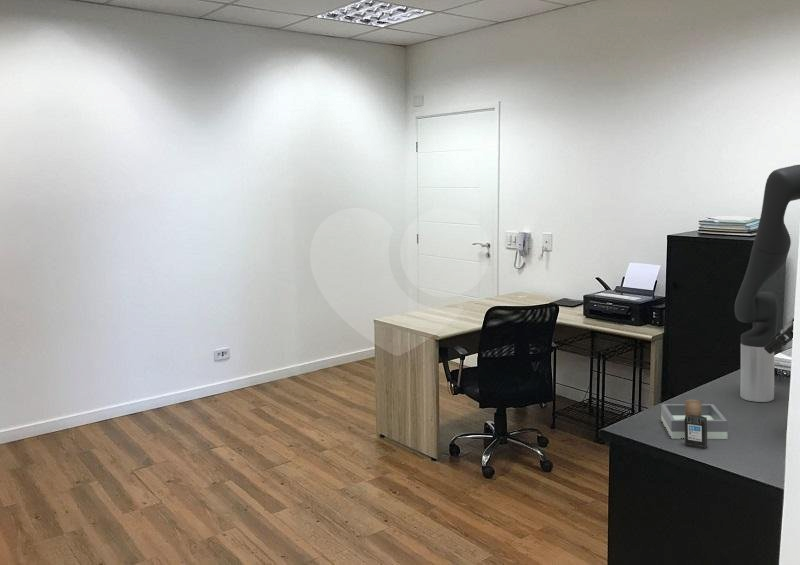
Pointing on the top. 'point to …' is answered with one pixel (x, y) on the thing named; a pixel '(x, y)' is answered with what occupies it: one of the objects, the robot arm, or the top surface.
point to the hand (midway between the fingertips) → (769, 347)
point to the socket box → (676, 415)
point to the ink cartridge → (696, 431)
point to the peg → (692, 407)
